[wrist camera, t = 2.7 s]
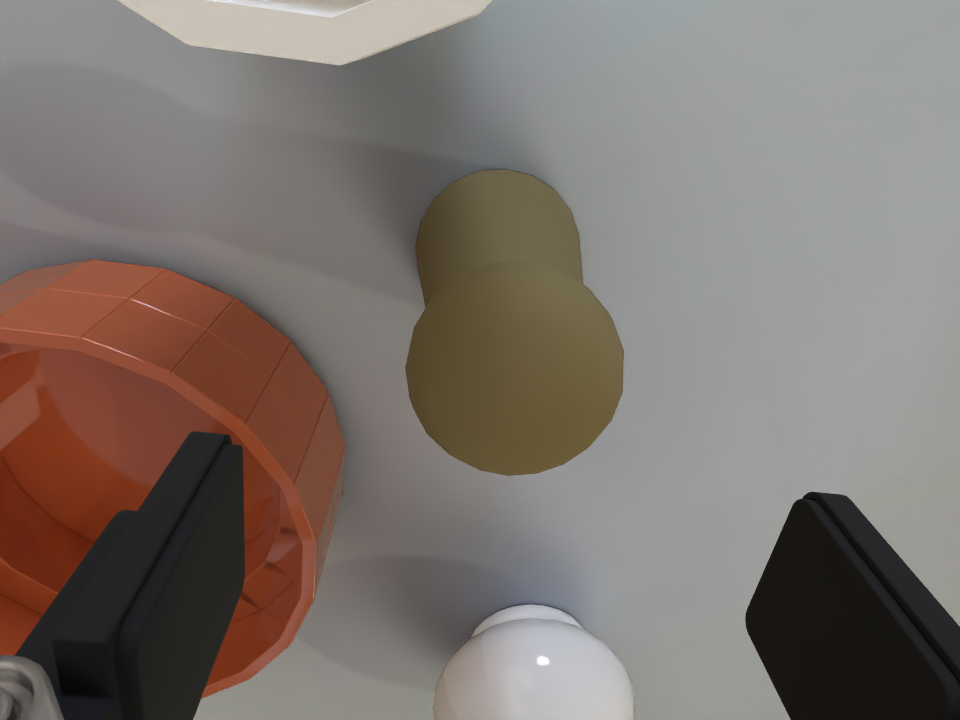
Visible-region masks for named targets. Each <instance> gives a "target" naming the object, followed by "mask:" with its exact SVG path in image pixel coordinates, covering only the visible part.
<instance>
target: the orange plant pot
mask: <svg viewBox="0 0 960 720" xmlns="http://www.w3.org/2000/svg"><path fill="white" fill-rule="evenodd" d="M193 431H198V432H208V433H218V434H228V435H229V436H230V437H231V440H232V444H237V445H241V446H242V448H243V472H244V526H245V579H244V585H243V589H242V592H241V596H240V598H239V601H238V603H237V606H236V609H235V611H234V614H233V616H232V619H231V622H230V624H229V627H228V629H227V632H226V635H225V637H224V640H223V643H222V645H221V648H220V650H219V653H218V656H217V658H216V661H215V663H214V666H213V669H212V671H211V674H210V676H209V679H208V682H207V684H206V687H205V689H204V692H203V695H202V697H201V699H202V698H204V697H207V696H209V695H212V694H214V693H217V692H219V691H222V690H224V689H227V688H229V687H232V686H234V685H237V684H239V683H242V682H244V681H246V680H249V679H251V678H252V677H253V676H254V675H255V674H256V673H258V672H259V671H260V670H261V669H262V668H264V667H265V666H266V665H267V664H268V663H270V662H271V661H272V660H273V659H274V658H276V657H277V656H278V655H279V654H280V653H281V652H283V651H284V650H285V649H286V648H287V647H289V646H290V644H291V643H292V641H293V639H294V638H295V636H296V634H297V632H298V630H299V628H300V626H301V624H302V622H303V620H304V618H305V616H306V614H307V612H308V611H309V609H310V607H311V605H312V603H313V601H314V598H315V595H316V591H317V587H318V583H319V580H320V576H321V572H322V568H323V565H324V561H325V557H326V553H327V550H328V546H329V542H330V538H331V534H332V531H333V527H334V523H335V519H336V516H337V512H338V508H339V504H340V500H341V497H342V493H343V478H344V462H345V442H344V439H343V436H342V433H341V430H340V427H339V423H338V420H337V417H336V414H335V411H334V408H333V405H332V401H331V398H330V395H329V393H328V391H327V389H326V388H325V386H324V385H323V384H322V382H321V381H320V380H319V378H318V377H317V375H316V374H315V373H314V371H313V370H312V369H311V367H310V366H309V364H308V363H307V362H306V360H305V359H304V358H303V356H302V355H301V354H300V352H299V351H298V349H297V348H296V347H295V345H294V344H293V343H292V342H290V339H288V338H287V337H286V336H285V335H283V334H282V333H281V332H279V331H278V330H277V329H275V328H274V327H273V326H272V325H270V324H269V323H268V322H266V321H265V320H264V319H263V318H261V317H260V316H259V315H257V314H256V313H255V312H253V311H252V310H251V309H250V308H248V307H247V306H246V305H244V304H243V303H242V302H241V301H239V300H238V299H236V298H235V299H234V297H233V296H230V295H228V294H226V293H223V292H221V291H218V290H216V289H214V288H211V287H209V286H206V285H204V284H202V283H199V282H197V281H195V280H192V279H190V278H187V277H185V276H183V275H180V274H178V273H175V272H173V271H171V270H168V269H165V268H157V267H149V266H141V265H134V264H126V263H118V262H110V261H102V260H92V259H90V260H85V261H79V262H73V263H68V264H62V265H57V266H51V267H45V268H40V269H34V270H29V271H25V272H23V273H21V274H19V275H17V276H15V277H14V278H12V279H10V280H8V281H6V282H4V283H3V284H1V285H0V655H12V656H14V655H15V654H16V653H17V651H18V650H19V648H20V647H21V646H22V644H23V643H24V641H25V640H26V638H27V637H28V636H29V634H30V633H31V631H32V630H33V629H34V627H35V626H36V624H37V623H38V622H39V620H40V619H41V617H42V616H43V615H44V613H45V612H46V610H47V609H48V608H49V606H50V605H51V603H52V602H53V601H54V599H55V598H56V596H57V595H58V594H59V592H60V591H61V589H62V588H63V587H64V585H65V584H66V582H67V581H68V580H69V578H70V577H71V575H72V574H73V573H74V571H75V570H76V568H77V567H78V565H79V564H80V563H81V561H82V560H83V558H84V557H85V556H86V554H87V553H88V551H89V550H90V549H91V547H92V546H93V544H94V543H95V542H96V540H97V539H98V537H99V536H100V535H101V533H102V532H103V530H104V529H105V528H106V526H107V525H108V523H109V522H110V521H111V519H112V518H113V517H114V516H115V515H116V514H117V513H118V512H120V511H122V510H133V511H138V509H139V508H140V506H141V505H142V503H143V502H144V500H145V499H146V497H147V496H148V494H149V493H150V491H151V490H152V488H153V487H154V485H155V484H156V482H157V481H158V479H159V478H160V476H161V475H162V473H163V472H164V470H165V469H166V467H167V466H168V464H169V463H170V461H171V460H172V458H173V457H174V455H175V454H176V453H177V451H178V450H179V448H180V447H181V445H182V444H183V442H184V441H185V439H186V438H187V436H188V435H189V434H190V433H191V432H193Z"/></svg>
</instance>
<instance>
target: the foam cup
mask: <svg viewBox="0 0 960 720" xmlns="http://www.w3.org/2000/svg"><path fill="white" fill-rule="evenodd" d="M117 1H119V2H121V3H122V4H124V5H125V6H127V7H128V8H130V9H132V10H133V11H135V12H136V13H138V14H140V15H141V16H143V17H144V18H146V19H148V20H149V21H151V22H152V23H154V24H155V25H157V26H159V27H160V28H162V29H163V30H165V31H167V32H168V33H170V34H171V35H173V36H174V37H176V38H178V39H179V40H181V41H182V42H184V43H186V44H187V45H192V46H199V47H207V48H214V49H221V50H229V51H236V52H244V53H251V54H259V55H266V56H273V57H281V58H288V59H296V60H303V61H311V62H318V63H325V64H333V65H344V64H347V63H351V62H354V61H357V60H361V59H364V58H367V57H369V56H372V55H375V54H377V53H380V52H383V51H385V50H388V49H390V48H393V47H396V46H398V45H401V44H404V43H406V42H409V41H412V40H414V39H417V38H419V37H422V36H425V35H427V34H430V33H433V32H435V31H438V30H441V29H443V28H446V27H448V26H451V25H454V24H456V23H459V22H462V21H464V20H467V19H470V18H472V17H475V16H478V15H479V14H480V13H481V12H482V10H483V9H484V8H485V7H486V6H487V5H488V4H489V3H490V2H491V1H492V0H117Z"/></svg>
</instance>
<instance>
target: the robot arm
mask: <svg viewBox="0 0 960 720" xmlns="http://www.w3.org/2000/svg"><path fill="white" fill-rule="evenodd" d="M244 579H245V526H244V472H243V448H242V446H241V445H237V444H232V440H231V437H230V436H229V435H228V434H218V433H208V432H198V431H193V432H191V433H190V434H189V435H188V436H187V438H186V439H185V441H184V442H183V444H182V445H181V447H180V448H179V450H178V451H177V453H176V454H175V455H174V457H173V458H172V460H171V461H170V463H169V464H168V466H167V467H166V469H165V470H164V472H163V473H162V475H161V476H160V478H159V479H158V481H157V482H156V484H155V485H154V487H153V488H152V490H151V491H150V493H149V494H148V496H147V497H146V499H145V500H144V502H143V503H142V505H141V506H140V508H139V509H138V511H133V510H122V511H120V512H118V513H117V514H116V515H115V516H114V517H113V518H112V519H111V521H110V522H109V523H108V525H107V526H106V528H105V529H104V530H103V532H102V533H101V535H100V536H99V537H98V539H97V540H96V542H95V543H94V544H93V546H92V547H91V549H90V550H89V551H88V553H87V554H86V556H85V557H84V558H83V560H82V561H81V563H80V564H79V565H78V567H77V568H76V570H75V571H74V573H73V574H72V575H71V577H70V578H69V580H68V581H67V582H66V584H65V585H64V587H63V588H62V589H61V591H60V592H59V594H58V595H57V596H56V598H55V599H54V601H53V602H52V603H51V605H50V606H49V608H48V609H47V610H46V612H45V613H44V615H43V616H42V617H41V619H40V620H39V622H38V623H37V624H36V626H35V627H34V629H33V630H32V631H31V633H30V634H29V636H28V637H27V638H26V640H25V641H24V643H23V644H22V646H21V647H20V648H19V650H18V651H17V653H16V654H15V655H14V656H12V655H0V720H193V718H194V716H195V713H196V710H197V708H198V705H199V703H200V700H201V697H202V695H203V692H204V689H205V687H206V684H207V682H208V679H209V676H210V674H211V671H212V669H213V666H214V663H215V661H216V658H217V656H218V653H219V650H220V648H221V645H222V643H223V640H224V637H225V635H226V632H227V629H228V627H229V624H230V622H231V619H232V616H233V614H234V611H235V609H236V606H237V603H238V601H239V598H240V596H241V592H242V589H243V585H244ZM745 619H746V628H747V631H748V634H749V636H750V638H751V640H752V642H753V644H754V646H755V648H756V650H757V652H758V654H759V656H760V658H761V660H762V662H763V664H764V666H765V668H766V670H767V672H768V674H769V677H770V679H771V681H772V683H773V685H774V687H775V689H776V691H777V693H778V695H779V697H780V699H781V701H782V703H783V705H784V707H785V709H786V711H787V713H788V715H789V717H790V719H791V720H960V627H959V625H958V624H957V623H956V622H955V621H954V620H953V618H952V617H951V616H950V615H949V614H948V613H947V611H946V610H945V609H944V608H943V607H942V606H941V604H940V603H939V602H938V601H937V600H936V599H935V597H934V596H933V595H932V594H931V593H930V592H929V590H928V589H927V588H926V587H925V586H924V585H923V583H922V582H921V581H920V580H919V579H918V578H917V577H916V575H915V574H914V573H913V572H912V571H911V570H910V568H909V567H908V566H907V565H906V564H905V563H904V561H903V560H902V559H901V558H900V557H899V556H898V554H897V553H896V552H895V551H894V550H893V549H892V547H891V546H890V545H889V544H888V543H887V542H886V540H885V539H884V538H883V537H882V536H881V535H880V533H879V532H878V531H877V530H876V529H875V528H874V526H873V525H872V524H871V523H870V522H869V521H868V519H867V518H866V517H865V516H864V515H863V514H862V512H861V511H860V510H859V509H858V508H857V507H856V505H855V504H854V503H853V502H852V501H851V500H850V499H849V498H848V497H847V496H844V495H839V494H829V493H819V492H809V493H807V494H806V495H805V496H804V497H803V498H802V499H799V500H797V501H796V502H795V503H794V504H793V506H792V508H791V510H790V513H789V515H788V517H787V520H786V522H785V524H784V526H783V529H782V531H781V533H780V536H779V538H778V540H777V542H776V545H775V547H774V549H773V551H772V554H771V556H770V558H769V561H768V563H767V565H766V567H765V570H764V572H763V574H762V577H761V579H760V581H759V583H758V586H757V588H756V590H755V593H754V595H753V597H752V599H751V602H750V604H749V606H748V609H747V612H746V618H745Z"/></svg>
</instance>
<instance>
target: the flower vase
mask: <svg viewBox="0 0 960 720" xmlns="http://www.w3.org/2000/svg"><path fill="white" fill-rule="evenodd" d="M433 714H434V719H435V720H634V717H635V707H634V693H633V685H632V681H631V679H630V677H629V675H628V673H627V671H626V669H625V667H624V665H623V663H622V661H621V660H620V658H619V657H618V656H617V655H616V654H615V653H614V652H613V651H612V650H611V649H610V648H609V647H608V646H607V645H606V644H605V643H604V642H603V641H602V640H600V639H599V638H598V637H596V636H594V635H593V634H591V633H589V632H587V631H585V630H584V629H583V627H582V626H581V625H580V624H579V623H578V622H577V621H576V620H575V619H574V618H573V617H572V616H570V615H568V614H567V613H565V612H563V611H561V610H559V609H555V608H552V607H548V606H544V605H530V604H528V605H520V606H512V607H509V608H506V609H503V610H500V611H497V612H496V613H494V614H492V615H491V616H489V617H487V618H486V619H484V620H483V621H482V622H481V623H480V624H479V625H478V626H477V627H476V628H475V630H474V632H473V634H472V636H471V637H470V639H469V640H468V641H467V642H466V643H465V644H464V645H463V646H462V647H461V648H460V649H459V650H458V651H457V652H456V653H455V654H454V655H453V656H452V657H451V658H450V659H449V661H448V662H447V664H446V666H445V667H444V669H443V671H442V673H441V675H440V677H439V679H438V681H437V684H436V688H435V696H434V705H433Z"/></svg>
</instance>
